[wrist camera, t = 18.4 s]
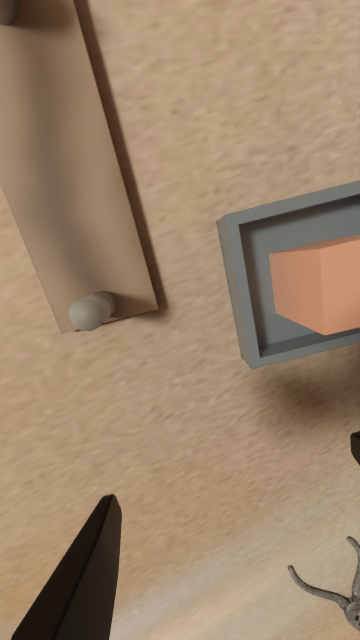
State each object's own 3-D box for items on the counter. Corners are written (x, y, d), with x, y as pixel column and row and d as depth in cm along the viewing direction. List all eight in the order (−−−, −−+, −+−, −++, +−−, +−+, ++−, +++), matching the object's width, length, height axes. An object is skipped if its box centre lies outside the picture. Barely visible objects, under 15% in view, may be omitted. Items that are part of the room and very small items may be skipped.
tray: (363, 184, 17) (395, 171, 15) (366, 325, 20) (393, 333, 18) (216, 221, 17) (224, 214, 15) (241, 356, 20) (251, 369, 18)
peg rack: (66, -29, 13) (8, -198, 8) (158, 306, 19) (156, 322, 14) (-64, 5, 13) (-197, -145, 8) (67, 330, 19) (32, 353, 14)
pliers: (345, 533, 26) (419, 600, 31) (339, 525, 27) (412, 591, 32) (282, 576, 28) (362, 634, 32) (279, 567, 29) (357, 625, 33)
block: (329, 239, 18) (410, 227, 12) (332, 299, 19) (406, 315, 13) (268, 253, 18) (319, 249, 12) (275, 313, 19) (324, 335, 13)
